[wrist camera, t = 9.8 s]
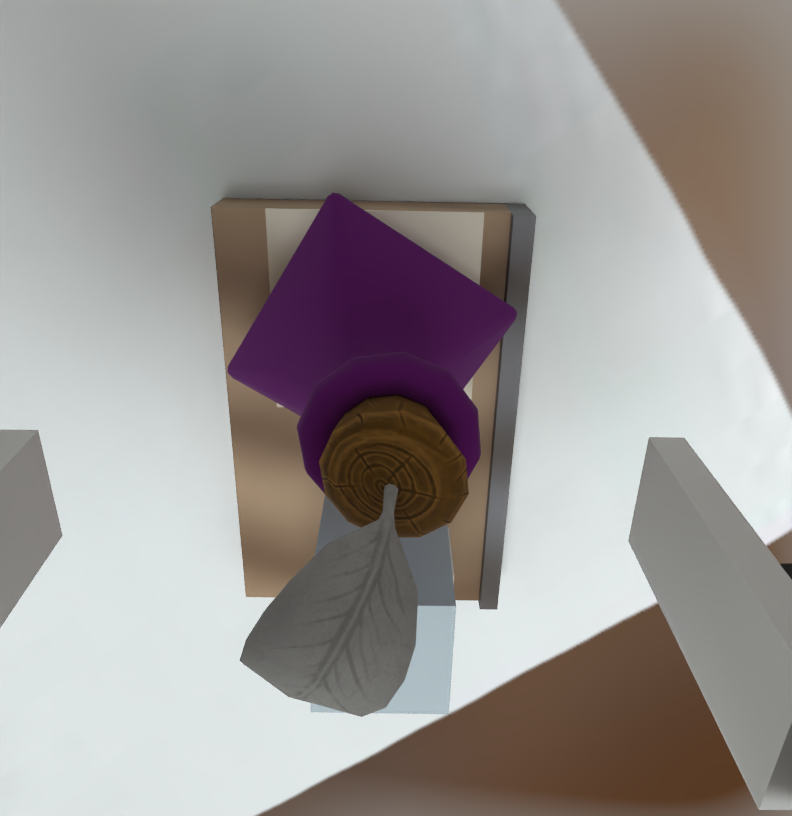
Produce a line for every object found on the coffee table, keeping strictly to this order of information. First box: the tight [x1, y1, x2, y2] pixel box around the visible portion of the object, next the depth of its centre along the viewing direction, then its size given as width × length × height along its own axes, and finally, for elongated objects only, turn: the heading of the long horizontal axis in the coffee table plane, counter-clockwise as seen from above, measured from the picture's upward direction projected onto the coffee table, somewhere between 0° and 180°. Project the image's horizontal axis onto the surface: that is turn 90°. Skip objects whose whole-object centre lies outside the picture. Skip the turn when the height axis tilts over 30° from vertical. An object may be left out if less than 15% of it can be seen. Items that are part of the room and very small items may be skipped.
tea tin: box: [311, 495, 456, 714], centre depth 29 cm, size 5×5×8 cm
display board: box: [211, 198, 536, 609], centre depth 31 cm, size 18×12×3 cm, turn 179°
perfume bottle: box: [227, 193, 517, 717], centre depth 20 cm, size 8×8×18 cm
